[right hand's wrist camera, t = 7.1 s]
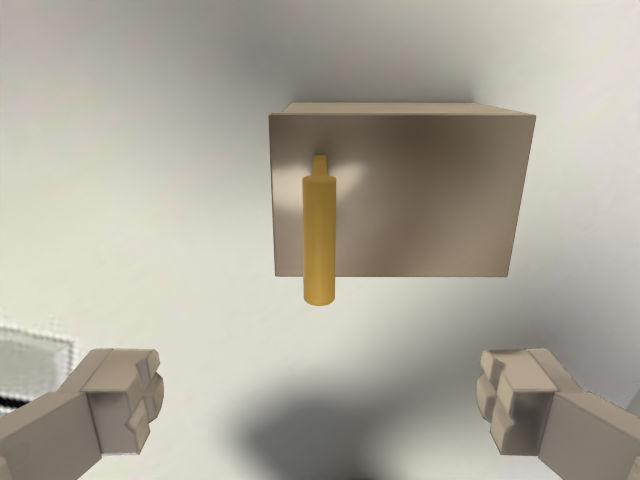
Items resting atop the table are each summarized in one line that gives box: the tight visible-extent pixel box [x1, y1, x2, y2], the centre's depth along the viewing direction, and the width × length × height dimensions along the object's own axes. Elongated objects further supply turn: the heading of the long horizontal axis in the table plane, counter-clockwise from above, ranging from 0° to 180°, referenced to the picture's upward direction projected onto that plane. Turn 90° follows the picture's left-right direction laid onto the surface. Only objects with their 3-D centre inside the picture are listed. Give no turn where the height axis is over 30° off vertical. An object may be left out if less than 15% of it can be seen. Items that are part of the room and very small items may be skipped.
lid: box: [269, 113, 536, 306], centre depth 22 cm, size 15×10×8 cm
